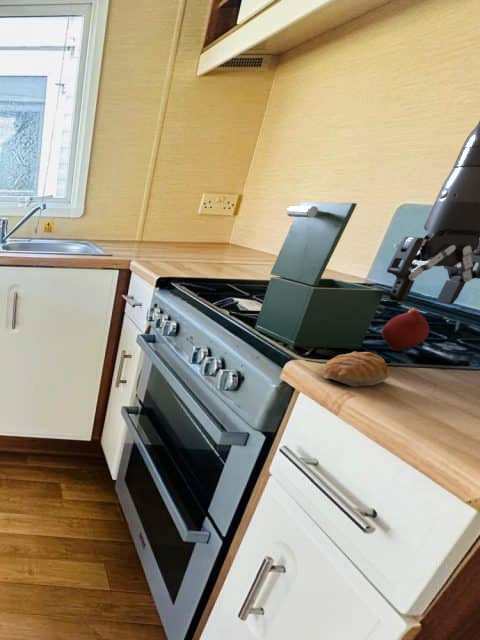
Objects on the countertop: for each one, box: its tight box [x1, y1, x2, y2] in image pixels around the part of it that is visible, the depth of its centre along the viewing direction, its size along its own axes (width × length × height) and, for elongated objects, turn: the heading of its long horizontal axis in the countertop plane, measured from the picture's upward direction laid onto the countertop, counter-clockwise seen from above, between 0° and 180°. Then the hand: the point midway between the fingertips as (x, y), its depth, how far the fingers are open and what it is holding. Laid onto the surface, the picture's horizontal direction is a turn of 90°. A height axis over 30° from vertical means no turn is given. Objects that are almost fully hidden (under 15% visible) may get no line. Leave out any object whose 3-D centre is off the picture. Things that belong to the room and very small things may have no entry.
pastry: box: [322, 350, 391, 388], centre depth 63 cm, size 9×7×4 cm
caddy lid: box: [269, 201, 358, 286], centre depth 76 cm, size 13×12×5 cm
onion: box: [381, 307, 430, 352], centre depth 76 cm, size 6×6×8 cm
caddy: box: [254, 276, 386, 350], centre depth 81 cm, size 13×12×11 cm
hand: (420, 301), depth 73 cm, fingers open, 8 cm apart
